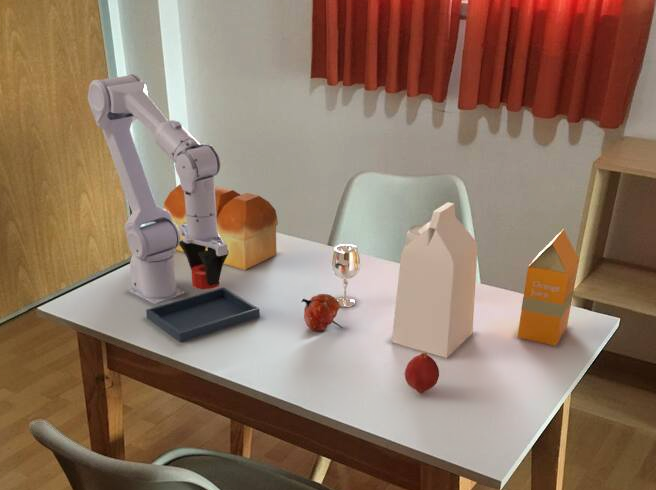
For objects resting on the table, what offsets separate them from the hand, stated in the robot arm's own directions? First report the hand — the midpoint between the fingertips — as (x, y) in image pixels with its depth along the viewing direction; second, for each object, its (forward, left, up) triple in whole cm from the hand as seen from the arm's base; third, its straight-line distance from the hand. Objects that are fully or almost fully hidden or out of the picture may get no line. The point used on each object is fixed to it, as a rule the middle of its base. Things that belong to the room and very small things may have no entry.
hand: (205, 279), depth 162 cm
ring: (0, 0, -1) cm, 1 cm away
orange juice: (+52, +42, -9) cm, 67 cm away
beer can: (+24, +38, -9) cm, 46 cm away
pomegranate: (+20, +13, -9) cm, 25 cm away
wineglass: (+15, +25, -9) cm, 30 cm away
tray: (0, -1, -8) cm, 8 cm away
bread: (-26, +26, -9) cm, 38 cm away
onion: (+49, +7, -9) cm, 50 cm away
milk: (+38, +25, -9) cm, 46 cm away
